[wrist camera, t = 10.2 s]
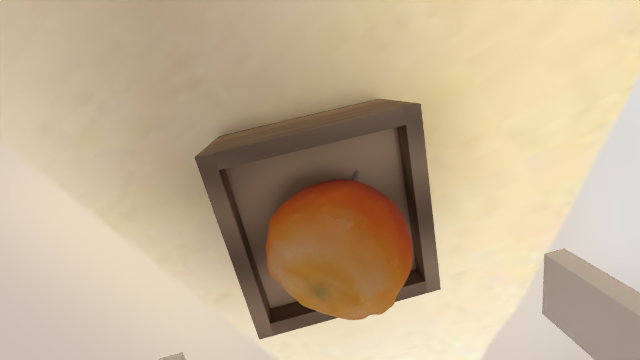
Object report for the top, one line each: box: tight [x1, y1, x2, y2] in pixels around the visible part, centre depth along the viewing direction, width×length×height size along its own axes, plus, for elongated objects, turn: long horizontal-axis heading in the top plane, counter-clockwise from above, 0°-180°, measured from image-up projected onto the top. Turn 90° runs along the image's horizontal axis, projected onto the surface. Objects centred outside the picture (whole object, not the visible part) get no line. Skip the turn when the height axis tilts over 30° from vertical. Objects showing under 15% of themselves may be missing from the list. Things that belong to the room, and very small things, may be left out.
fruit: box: [266, 170, 412, 320], centre depth 18 cm, size 8×8×8 cm
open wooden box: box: [195, 99, 441, 339], centre depth 23 cm, size 13×13×8 cm
